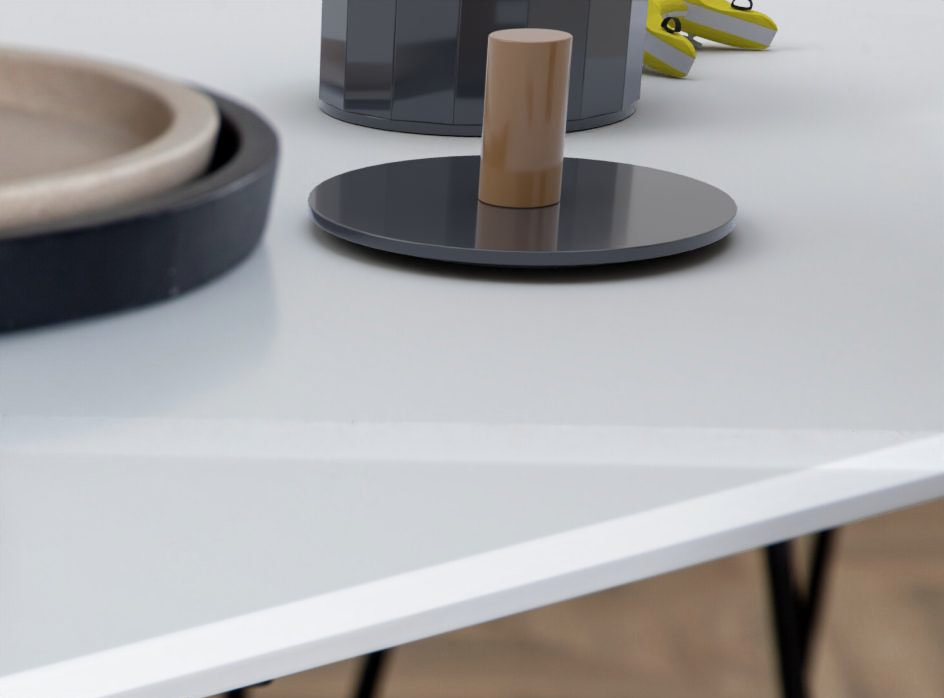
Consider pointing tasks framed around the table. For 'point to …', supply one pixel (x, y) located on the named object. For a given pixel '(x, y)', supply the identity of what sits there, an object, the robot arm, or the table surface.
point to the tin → (469, 59)
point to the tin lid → (523, 185)
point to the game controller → (700, 31)
